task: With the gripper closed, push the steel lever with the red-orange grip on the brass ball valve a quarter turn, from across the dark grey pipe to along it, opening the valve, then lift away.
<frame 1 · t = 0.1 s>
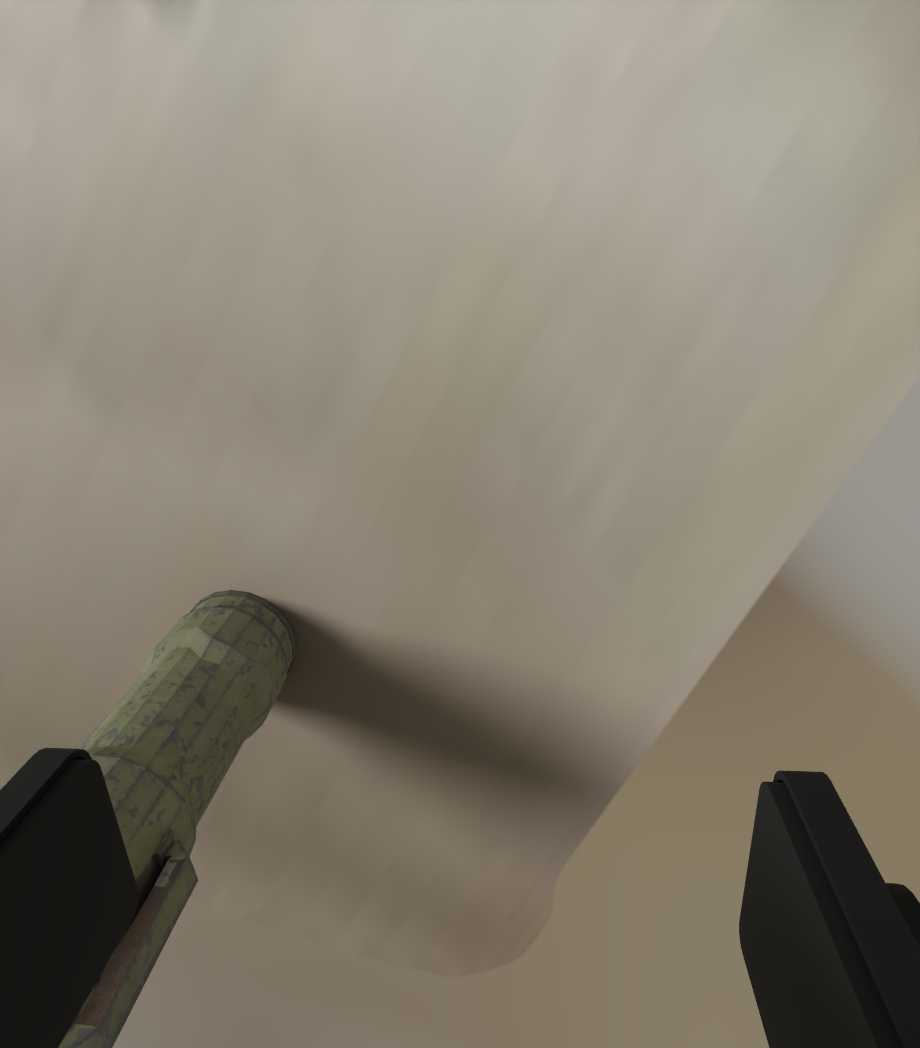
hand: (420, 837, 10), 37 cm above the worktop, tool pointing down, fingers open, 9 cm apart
green piece: (243, 638, 54), on the worktop
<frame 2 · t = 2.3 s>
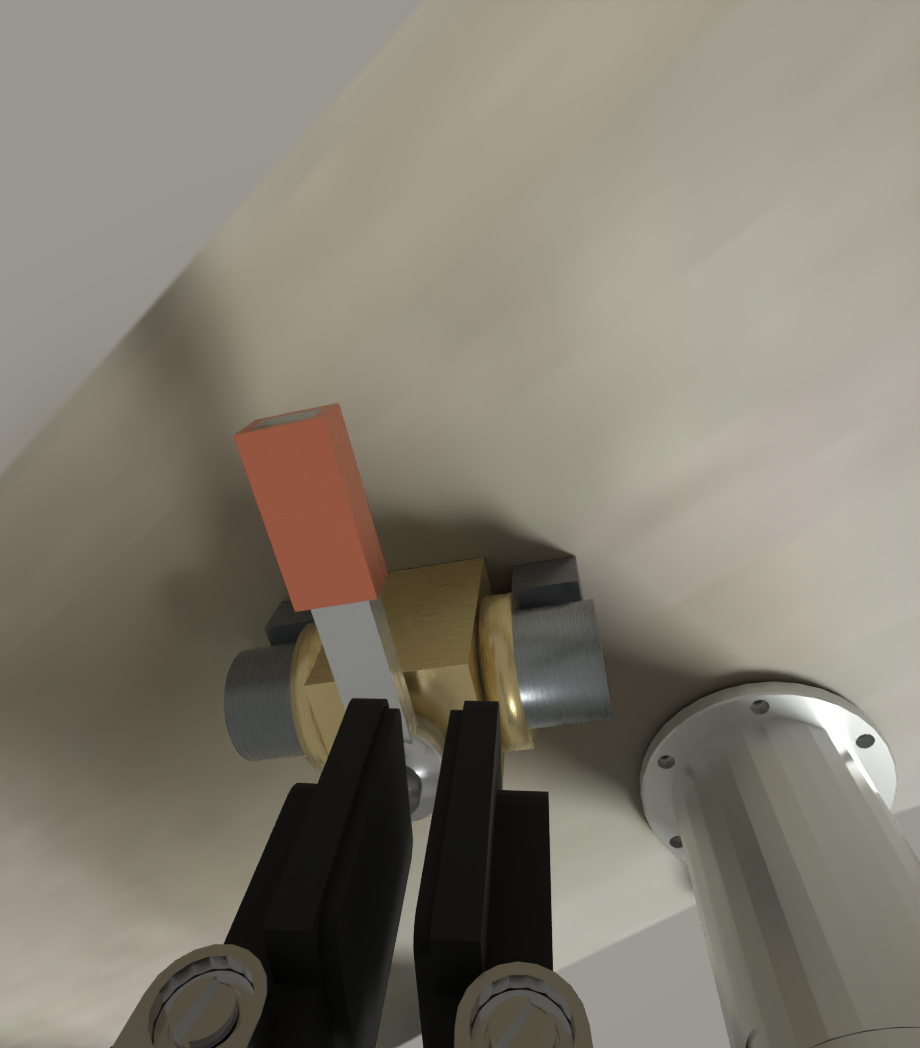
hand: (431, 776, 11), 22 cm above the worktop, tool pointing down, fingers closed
ball valve: (434, 623, 36), on the worktop
valve lever: (354, 637, 24), point 11 cm above the worktop, hinge at 0.0°
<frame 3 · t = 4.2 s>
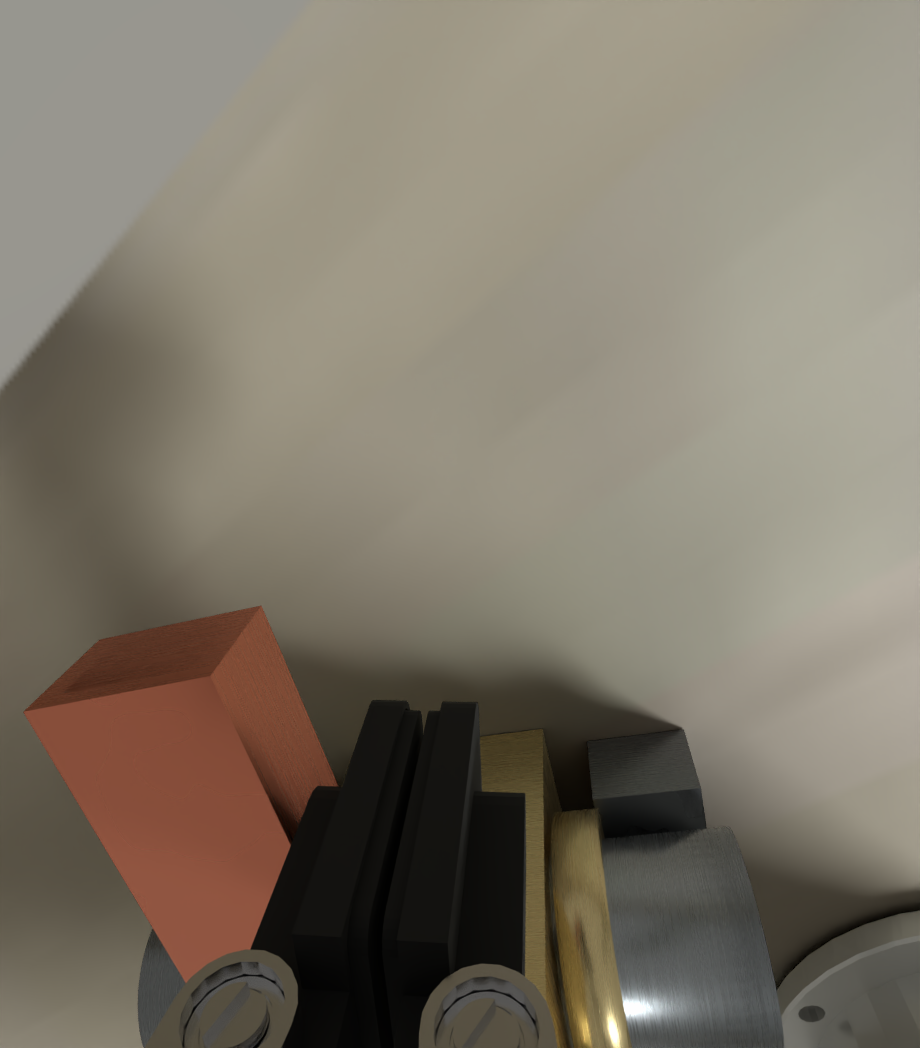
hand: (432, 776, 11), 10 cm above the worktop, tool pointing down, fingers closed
ball valve: (467, 815, 24), on the worktop
valve lever: (326, 1024, 12), point 11 cm above the worktop, hinge at 2.2°, touching gripper
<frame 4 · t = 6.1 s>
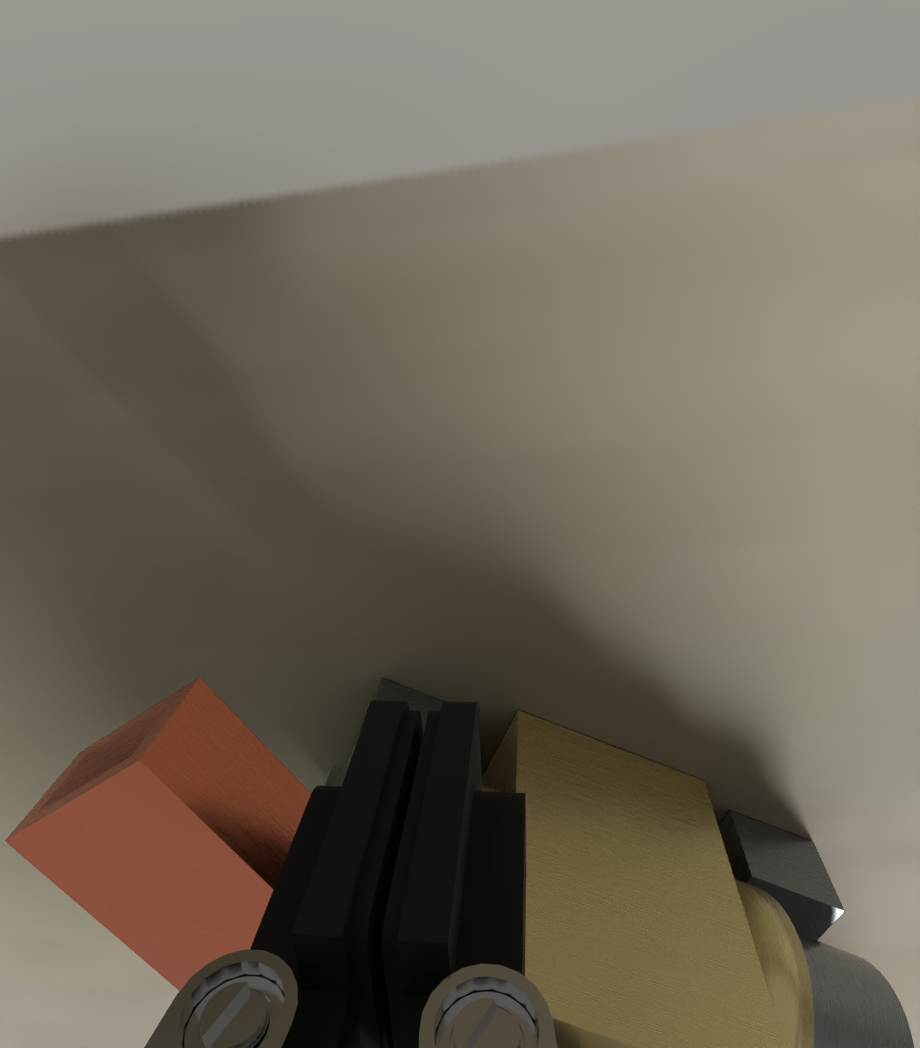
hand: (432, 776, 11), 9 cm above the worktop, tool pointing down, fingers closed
ball valve: (568, 815, 24), on the worktop
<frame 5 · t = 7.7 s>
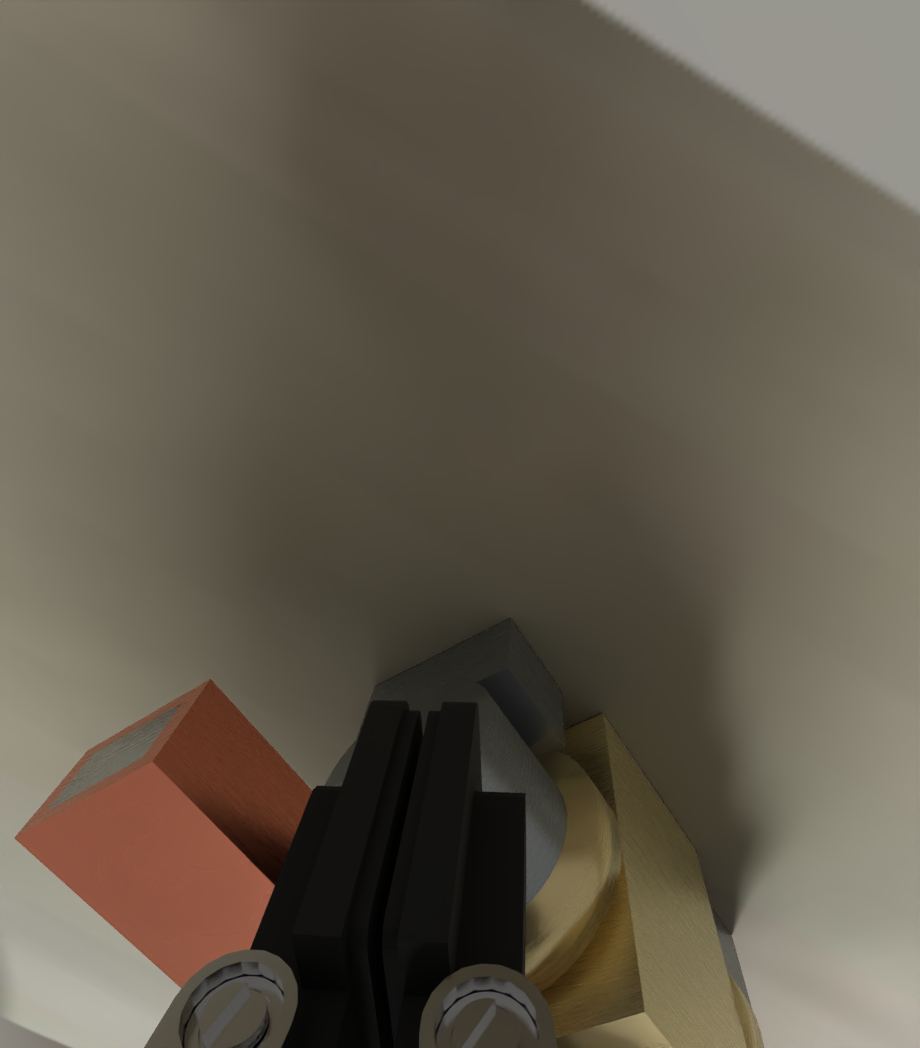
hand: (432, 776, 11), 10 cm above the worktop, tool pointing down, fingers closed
ball valve: (564, 819, 24), on the worktop
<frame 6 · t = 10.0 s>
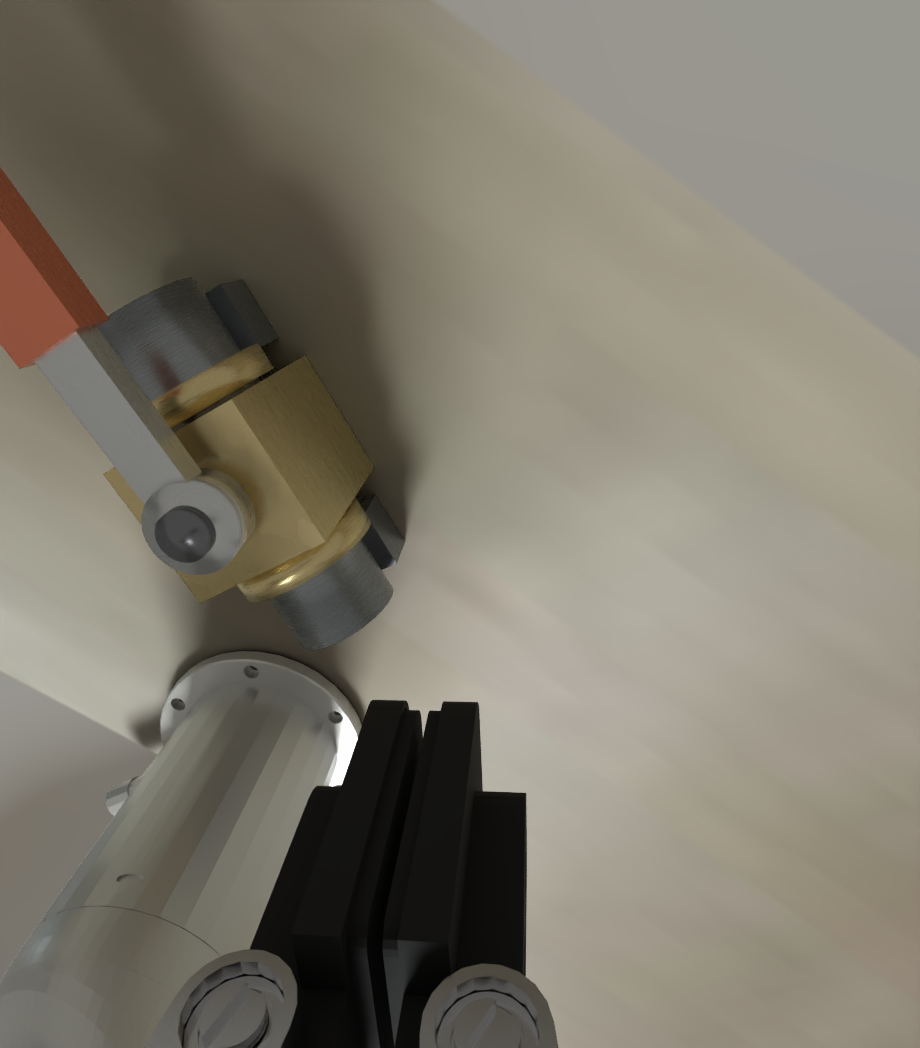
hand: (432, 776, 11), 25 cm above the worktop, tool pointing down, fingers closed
ball valve: (288, 441, 36), on the worktop
valve lever: (93, 386, 25), point 11 cm above the worktop, hinge at 91.2°
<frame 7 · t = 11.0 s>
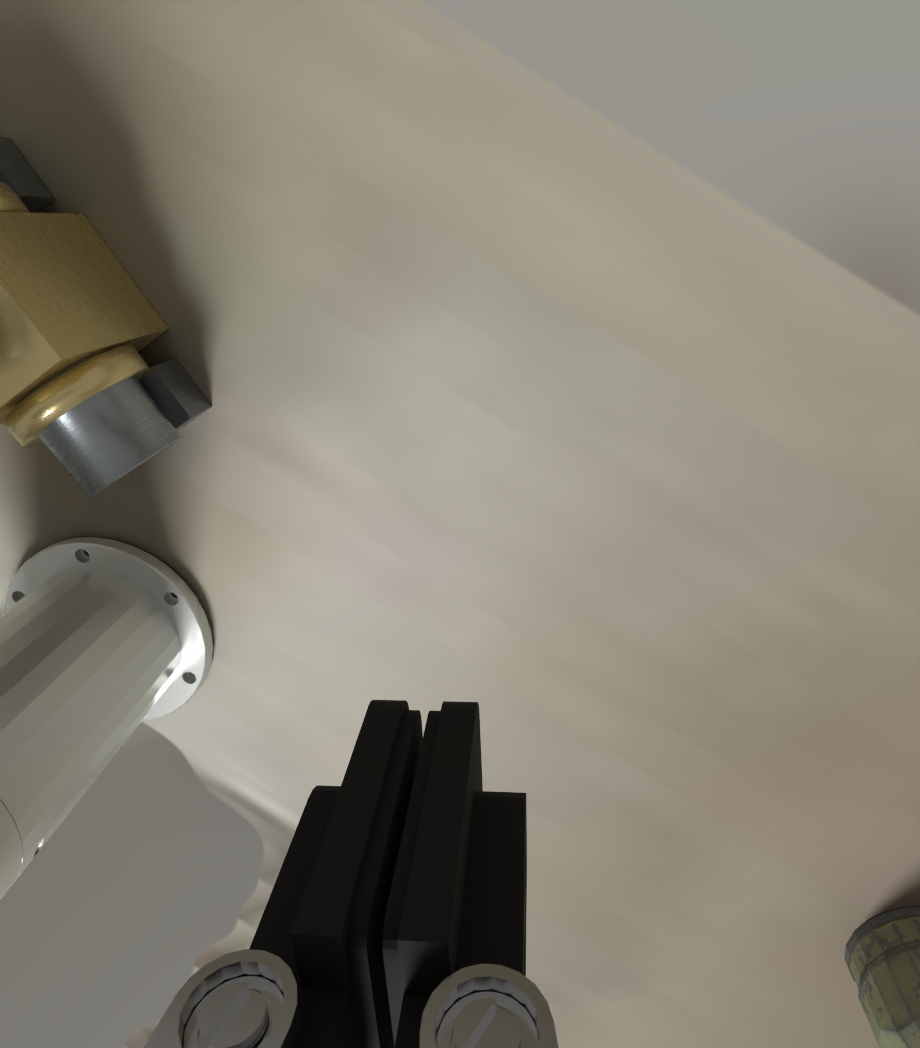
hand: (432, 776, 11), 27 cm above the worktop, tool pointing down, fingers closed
ball valve: (83, 307, 36), on the worktop
green piece: (911, 948, 48), on the worktop
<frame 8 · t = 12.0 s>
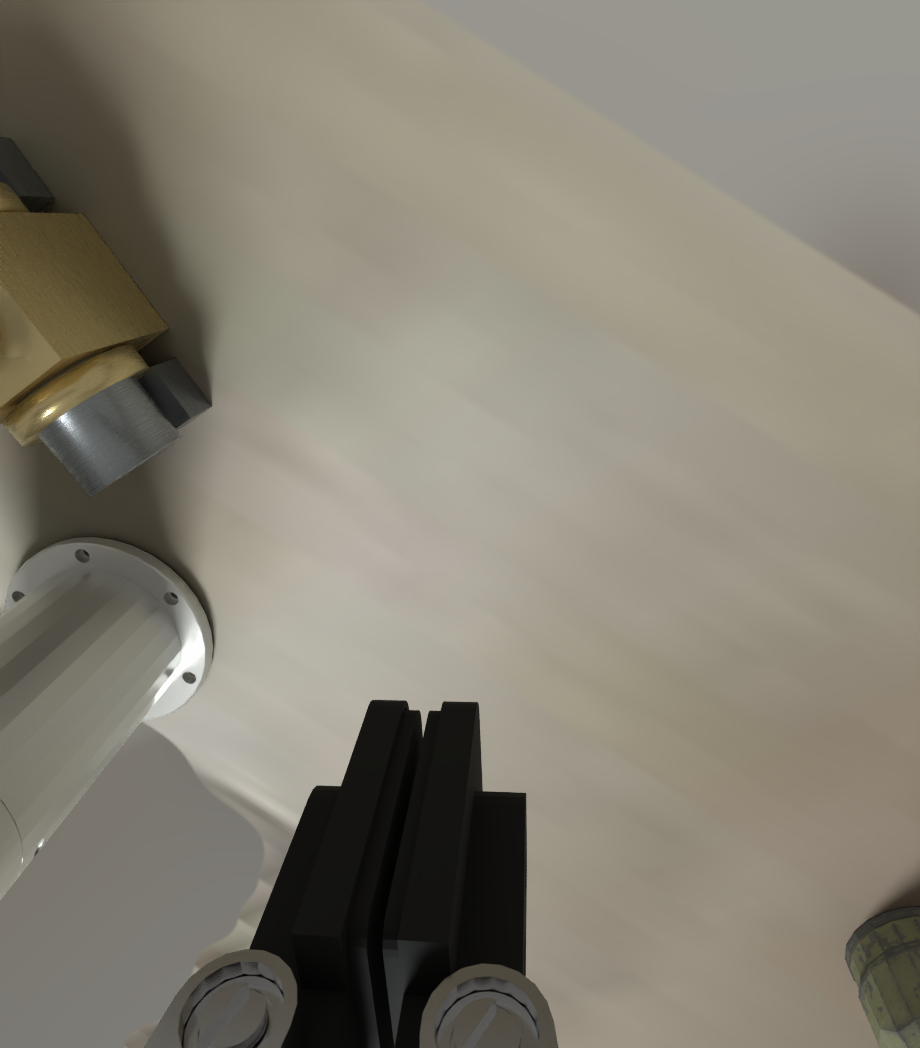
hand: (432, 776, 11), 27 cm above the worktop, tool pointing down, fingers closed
ball valve: (82, 307, 36), on the worktop
green piece: (911, 948, 48), on the worktop
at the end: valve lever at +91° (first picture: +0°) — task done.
